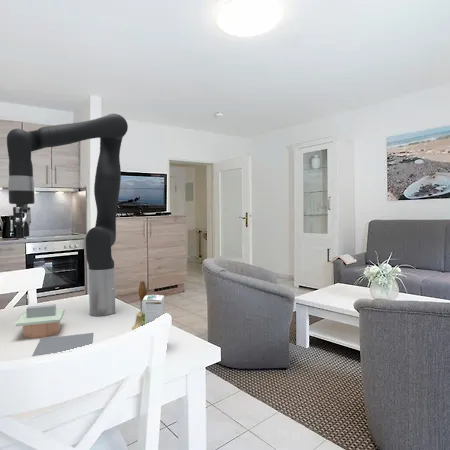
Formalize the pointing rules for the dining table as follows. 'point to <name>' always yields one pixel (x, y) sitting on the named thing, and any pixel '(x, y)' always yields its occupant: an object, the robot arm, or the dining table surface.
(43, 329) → the bowl
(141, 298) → the hand bell
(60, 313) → the cover sheet
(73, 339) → the mat
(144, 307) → the syrup box
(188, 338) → the dining table surface
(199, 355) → the dining table surface
